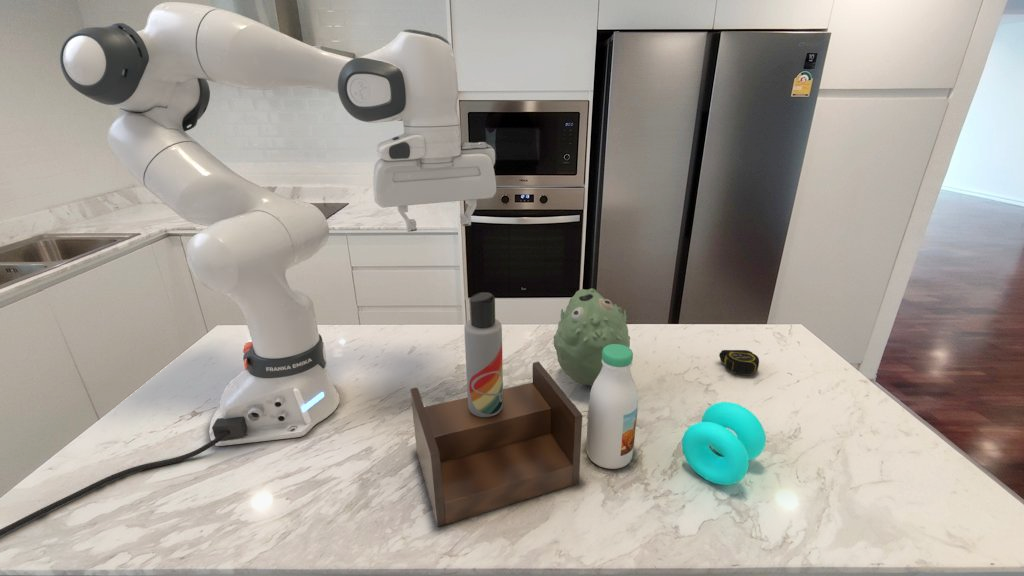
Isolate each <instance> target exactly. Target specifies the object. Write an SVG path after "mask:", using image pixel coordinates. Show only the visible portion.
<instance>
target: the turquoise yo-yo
mask: <svg viewBox="0 0 1024 576" xmlns="http://www.w3.org/2000/svg"><path fill="white" fill-rule="evenodd" d="M766 442H767V436H766V431H765V428H764V426H763V424H762V423H761V421H760V419H758V417H757V416H756V415H755V414H754V413H753V412H751V410H749V409H747V408H746V407H744V406H743V405H740V404H739V403H735V402H729V401H720V402H716V403H713V404H711V405H710V406H708V407H707V409H705V411H704V412H703V414H702V417H701V421H699V422H695V423H694V424H691V425H690V426H688V427H687V429H686V430H685V432H684V433H683V436H682V438H681V447H682V453H683V456H684V458H685V460H686V462H687V463H688V466H690V467H691V468H692V469H693V471H694V472H695V473H697V475H699V476H700V477H701V478H703V479H705V480H706V481H707V482H708V481H709V482H711V483H713V484H715V485H721V486H729V485H734V484H736V483H739V482H741V480H743V479H744V478H745V476H746V475H747V473H748V470H749V467H750V461H751V460H754V459H756V458H758V457H759V456H760V455H761V454H762V453H763V452H764V449H765V447H766V444H767V443H766ZM710 447H711V448H712V449H713V450H714V451H715V452H716V453H718V454H719V455H718V454H716V453H715V452H714V451H713V450H712V449H711V448H710ZM720 455H721V456H720Z"/></svg>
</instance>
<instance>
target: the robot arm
mask: <svg viewBox="0 0 1024 576" xmlns="http://www.w3.org/2000/svg"><path fill="white" fill-rule="evenodd" d="M149 12H150V13H149V14H148V16H147V19H146V24H145V26H144V28H143V29H141V30H137V31H136V30H135V29H134V28H132V27H131V26H130V25H128V24H126V23H123V22H116V23H113V24H110V25H107V26H93V27H85V28H81V29H78V30H76V31H74V32H72V33H71V34H70V35H69V36H68V37H67V38H66V39H65V40H64V42H63V44H62V46H61V49H60V53H59V64H60V69H61V72H62V74H63V76H64V78H65V80H66V82H67V83H68V84H69V85H70V86H71V88H73V89H74V90H75V91H77V92H78V93H80V94H81V95H83V96H85V97H87V98H89V99H90V100H93V101H95V102H97V103H99V104H102V105H107V106H113V107H116V108H118V112H119V113H118V114H119V115H118V117H117V118H116V119H114V121H113V122H112V123H111V124H110V126H109V127H108V130H107V134H106V140H107V144H108V148H109V149H110V151H111V152H112V153H113V155H114V156H115V157H116V159H117V160H118V162H120V164H121V165H122V166H123V167H124V168H125V169H126V170H127V171H128V172H129V174H131V176H132V177H133V178H135V180H137V181H138V182H139V183H140V184H141V185H142V186H143V187H144V188H145V189H147V190H148V191H149V192H150V193H152V194H153V195H154V196H155V197H156V198H158V200H160V201H161V202H162V203H163V204H165V205H166V206H167V207H168V208H170V209H171V211H173V212H174V213H175V214H177V215H178V216H179V217H181V219H183V220H184V221H187V222H189V223H192V224H194V225H198V226H205V227H206V228H204V229H202V230H200V231H199V232H198V233H196V234H194V235H193V236H192V237H191V238H190V239H189V241H188V243H187V245H186V251H185V254H186V255H185V256H186V263H187V267H188V268H189V271H190V273H191V274H192V276H193V277H194V279H196V280H197V282H199V283H200V284H201V285H203V286H204V287H205V288H207V289H209V290H211V291H214V292H217V293H220V294H222V295H225V296H227V297H228V298H230V299H231V300H232V301H233V302H234V303H235V304H236V306H237V307H238V308H239V311H241V313H242V315H243V317H244V320H245V323H246V326H247V329H248V333H249V336H250V340H251V341H248V342H247V341H246V342H245V344H244V345H243V349H242V352H243V358H242V361H243V368H244V369H243V370H242V371H241V372H240V373H238V374H237V375H236V376H235V377H234V378H233V379H231V380H230V381H229V383H227V385H226V386H225V388H224V389H223V392H222V395H221V396H220V397H221V398H220V402H219V406H218V408H217V409H216V410H215V412H214V413H213V415H212V418H211V421H210V423H209V431H208V433H209V438H210V441H209V442H208V443H206V444H204V445H202V446H201V447H199V448H197V449H195V450H193V451H190V452H187V453H184V454H182V455H179V456H176V457H172V458H168V459H163V460H158V461H153V462H148V463H143V464H140V465H139V464H138V465H136V466H132V467H130V468H127V469H124V470H121V471H118V472H116V473H114V474H110V475H109V476H106V477H104V478H102V479H99V480H97V481H96V482H94V483H92V484H89V485H87V486H85V487H83V488H82V489H79V490H77V491H75V492H73V493H71V494H69V495H67V496H65V497H63V498H61V499H59V500H56V501H54V502H52V503H50V504H48V505H46V506H44V507H42V508H40V509H37V510H36V511H34V512H32V513H30V514H28V515H26V516H23V517H22V518H20V519H18V520H16V521H14V522H12V523H10V524H8V525H6V526H4V527H1V528H0V537H1V536H3V535H5V534H7V533H9V532H11V531H13V530H15V529H17V528H19V527H21V526H23V525H25V524H28V522H31V521H33V520H35V519H36V518H37V519H38V517H40V516H42V515H44V514H47V513H49V512H51V511H52V510H55V509H57V508H59V507H61V506H62V505H65V504H67V503H69V502H71V501H73V500H75V499H77V498H79V497H81V496H84V495H86V494H87V493H89V492H92V491H94V490H95V489H97V488H100V487H102V486H104V485H106V484H108V483H110V482H112V481H114V480H117V479H120V478H122V477H125V476H128V475H129V474H133V473H136V472H140V471H145V470H148V469H153V468H158V467H162V466H163V467H164V466H168V465H172V464H176V463H179V462H183V461H186V460H188V459H191V458H193V457H196V456H198V455H200V454H201V453H203V452H205V451H207V450H208V449H210V448H212V447H213V446H216V447H223V446H232V445H242V444H251V443H259V442H268V441H275V440H276V441H277V440H278V441H279V440H285V439H295V438H301V437H303V436H305V435H307V434H308V433H309V432H310V431H311V430H312V429H313V427H314V426H315V425H317V424H319V423H321V422H322V421H324V420H325V419H327V418H328V417H329V416H330V415H332V414H334V412H335V411H336V409H337V408H338V406H339V404H340V401H341V396H340V394H339V392H338V391H337V389H336V387H335V385H334V383H333V381H332V379H331V376H330V374H329V373H330V372H329V371H328V368H327V359H328V358H327V353H326V348H325V343H324V342H323V337H322V335H321V333H320V332H319V329H318V327H319V326H318V322H317V318H316V317H317V316H316V312H315V306H314V303H313V300H312V299H311V298H310V297H309V296H308V295H307V294H305V293H304V292H303V291H300V290H296V289H293V288H291V286H290V284H289V283H288V281H287V277H286V273H287V272H286V271H287V270H289V269H291V268H293V267H295V266H297V265H299V264H302V263H303V262H305V261H308V260H309V259H311V258H312V257H314V256H315V255H316V254H317V253H318V252H320V250H321V249H323V247H325V246H326V245H327V243H328V241H329V237H330V227H329V222H328V220H327V218H326V216H325V215H324V213H323V212H322V211H321V210H320V209H319V208H318V207H317V205H314V204H312V203H310V202H307V201H302V200H296V199H292V198H289V197H286V196H283V195H280V194H278V193H275V192H274V191H271V190H269V189H266V188H264V187H263V186H260V185H259V184H256V183H254V182H252V181H251V180H249V179H246V178H245V177H243V176H241V175H239V174H238V173H237V172H235V171H233V170H232V169H231V168H230V167H228V166H227V165H226V164H225V163H223V162H222V161H221V160H219V158H217V157H216V156H214V155H213V153H211V152H209V150H207V149H206V148H205V147H203V146H202V145H201V144H200V143H199V142H197V141H196V140H195V138H192V137H191V136H190V135H189V134H188V133H187V131H190V130H192V129H194V128H195V127H196V126H197V124H198V121H199V120H200V119H201V118H202V117H203V116H204V114H205V113H206V111H207V109H208V106H209V104H210V99H211V90H210V84H209V83H208V81H209V82H213V83H216V84H219V85H222V86H227V87H231V88H236V89H243V90H256V91H257V90H259V91H262V90H263V91H270V90H286V89H316V90H323V91H326V92H330V93H335V94H338V98H339V100H340V102H341V105H342V106H343V108H344V109H345V111H346V112H347V113H348V114H349V115H350V116H351V117H353V118H354V119H355V120H357V121H359V122H364V123H369V124H378V123H379V124H380V123H389V122H396V121H399V122H402V125H403V133H401V134H399V135H397V136H394V137H392V138H388V139H386V140H383V141H381V142H379V143H378V144H376V152H377V153H376V154H377V156H378V157H379V158H378V160H376V162H375V164H374V166H373V167H374V168H373V176H372V177H373V179H372V181H373V183H372V186H373V199H374V202H375V204H377V206H379V207H380V208H383V209H384V208H395V207H397V212H398V213H399V214H400V216H401V217H402V218H403V219H404V221H405V227H406V231H407V233H413V232H417V231H418V229H417V221H416V219H415V218H409V216H408V215H407V214H406V213H408V212H409V206H419V205H428V204H429V205H430V204H439V203H452V202H453V203H454V202H462V201H465V204H466V205H467V207H466V209H465V212H464V213H461V214H459V218H460V220H459V221H460V226H462V227H468V226H469V227H470V226H472V216H473V214H474V212H475V210H476V208H477V206H478V203H477V200H483V199H484V200H487V199H492V198H494V197H495V195H496V193H497V180H496V173H495V168H494V166H495V164H496V152H495V149H494V148H493V146H492V145H490V144H489V143H487V142H486V141H478V142H462V141H461V140H462V139H461V138H462V137H461V124H460V123H461V122H460V118H459V116H458V111H457V110H458V109H457V107H458V106H457V105H458V99H459V86H458V85H459V84H458V73H457V65H456V58H455V53H454V49H453V47H452V45H451V43H450V41H448V40H447V39H446V38H445V37H444V36H441V35H439V34H437V33H433V32H432V33H431V32H428V31H423V30H418V29H403V30H401V31H400V32H398V34H396V36H395V38H394V39H392V40H391V41H390V42H388V43H387V44H385V45H384V46H382V47H381V48H378V49H376V50H373V51H371V52H369V53H367V54H364V55H362V56H358V57H356V58H354V57H350V56H347V55H343V54H339V53H335V52H332V51H331V52H330V51H327V50H324V49H321V48H318V47H315V46H312V45H310V44H307V43H305V42H303V41H301V40H298V39H296V38H294V37H292V36H290V35H287V34H285V33H283V32H281V31H278V30H276V29H274V28H272V27H270V26H267V24H263V23H262V22H259V21H256V20H254V19H252V18H249V17H248V16H244V15H243V14H239V13H236V12H234V11H230V10H226V9H223V8H218V7H215V6H211V5H206V4H200V3H192V2H182V1H166V2H162V3H160V4H157V5H156V6H155V7H153V8H152V9H151V10H150V11H149Z"/></svg>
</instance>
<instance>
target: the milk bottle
mask: <svg viewBox="0 0 1024 576" xmlns="http://www.w3.org/2000/svg"><path fill="white" fill-rule="evenodd" d="M633 359H634V353H633V350H632V349H631V348H630V347H629V348H628V347H627V346H624V345H620V344H611V345H607V346H605V347H604V348H603V351H602V364H603V367H602V369H601V371H600V373H599V375H598V377H597V378H596V380H595V381H594V383H593V385H591V389H590V392H589V401H588V409H587V410H588V411H587V426H586V443H585V445H586V446H585V451H586V455H587V456H588V458H589V459H590V461H591V462H592V463H594V464H595V465H596V466H599V467H600V468H604V469H609V470H614V469H615V470H616V469H622V468H624V467H626V466H627V465H628V464H630V462H631V461H632V460H633V455H634V446H635V439H636V430H637V429H636V427H637V418H638V409H639V408H638V405H639V404H638V403H639V394H638V390H637V386H636V383H635V381H634V378H633V376H632V372H631V367H632V366H633Z"/></svg>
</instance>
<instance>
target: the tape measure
mask: <svg viewBox="0 0 1024 576" xmlns="http://www.w3.org/2000/svg"><path fill="white" fill-rule="evenodd" d="M718 357H719V360H720V362H721V363H722V364H724V367H725V368H726V370H728V371H729V372H732V373H734V374H737V375H742V376H750V375H754V374H755V373H757V372H758V368H759V365H760V358H759V356H758V355H757V354H756V353H754V352H753V351H750V350H748V349H721V351H720V352H719V354H718Z"/></svg>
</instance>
